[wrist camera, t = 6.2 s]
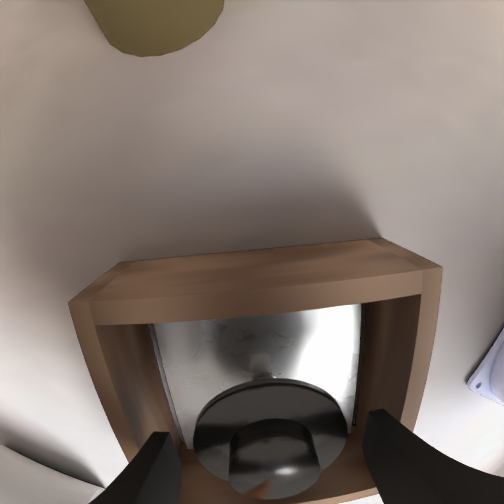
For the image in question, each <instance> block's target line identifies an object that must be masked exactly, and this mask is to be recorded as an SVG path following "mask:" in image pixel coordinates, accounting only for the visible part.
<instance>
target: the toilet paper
mask: <svg viewBox="0 0 504 504" xmlns="http://www.w3.org/2000/svg"><path fill="white" fill-rule="evenodd" d="M104 490H105V489H104V488H101V487H98V486H95V485H92V484H89V483H86V482H83V481H81V480H78V479H75V478H73V477H70V476H67V475H65V474H62V473H60V472H58V471H55V470H53V469H50V468H48V467H46V466H44V465H41V464H39V463H37V462H35V461H33V460H31V459H29V458H27V457H24V456H22V455H20V454H19V453H17V452H15V451H13V450H11V449H9V448H7V447H5V446H3V445H2V444H0V504H88V503H90V502H91V501H92V500H93V499H95V498H96V497H97V496H98V495H99V494H100V493H101V492H103V491H104Z"/></svg>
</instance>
